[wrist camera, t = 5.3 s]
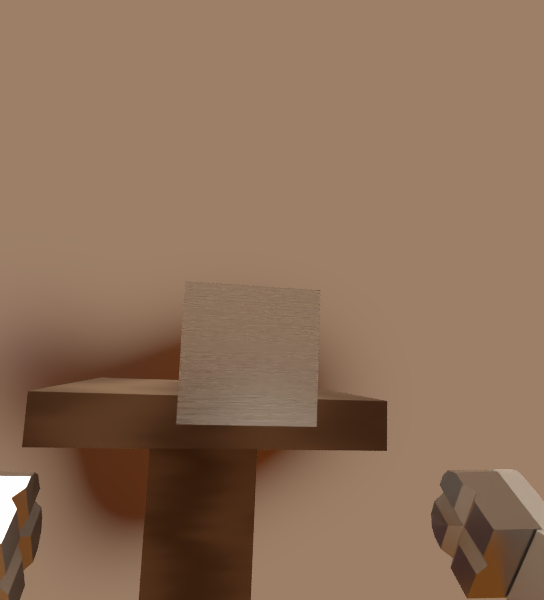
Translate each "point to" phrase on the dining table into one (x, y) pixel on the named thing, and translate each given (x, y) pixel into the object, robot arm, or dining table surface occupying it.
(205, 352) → the grey square bar
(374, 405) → the mount stand
